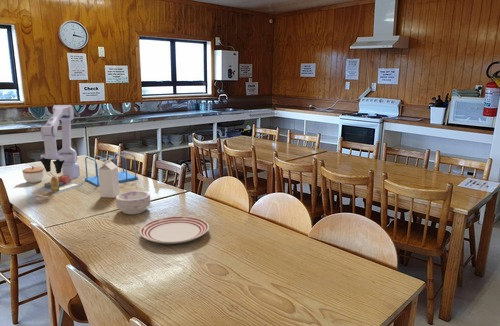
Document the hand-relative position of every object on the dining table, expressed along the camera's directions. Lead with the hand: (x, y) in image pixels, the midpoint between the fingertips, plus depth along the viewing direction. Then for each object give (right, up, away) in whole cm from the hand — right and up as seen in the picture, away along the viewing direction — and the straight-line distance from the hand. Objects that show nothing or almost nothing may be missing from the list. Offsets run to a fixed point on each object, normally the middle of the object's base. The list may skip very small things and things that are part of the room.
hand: (53, 172), depth 205 cm
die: (0, -6, +13) cm, 15 cm away
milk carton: (+33, -12, -6) cm, 36 cm away
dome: (-3, -7, +7) cm, 11 cm away
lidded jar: (-19, -6, +16) cm, 26 cm away
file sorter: (+24, -6, +22) cm, 33 cm away
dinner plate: (+76, -24, -52) cm, 95 cm away
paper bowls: (+52, -18, -27) cm, 61 cm away
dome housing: (-3, -8, +7) cm, 12 cm away
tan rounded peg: (+2, -10, -1) cm, 10 cm away
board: (+1, -9, +6) cm, 11 cm away
